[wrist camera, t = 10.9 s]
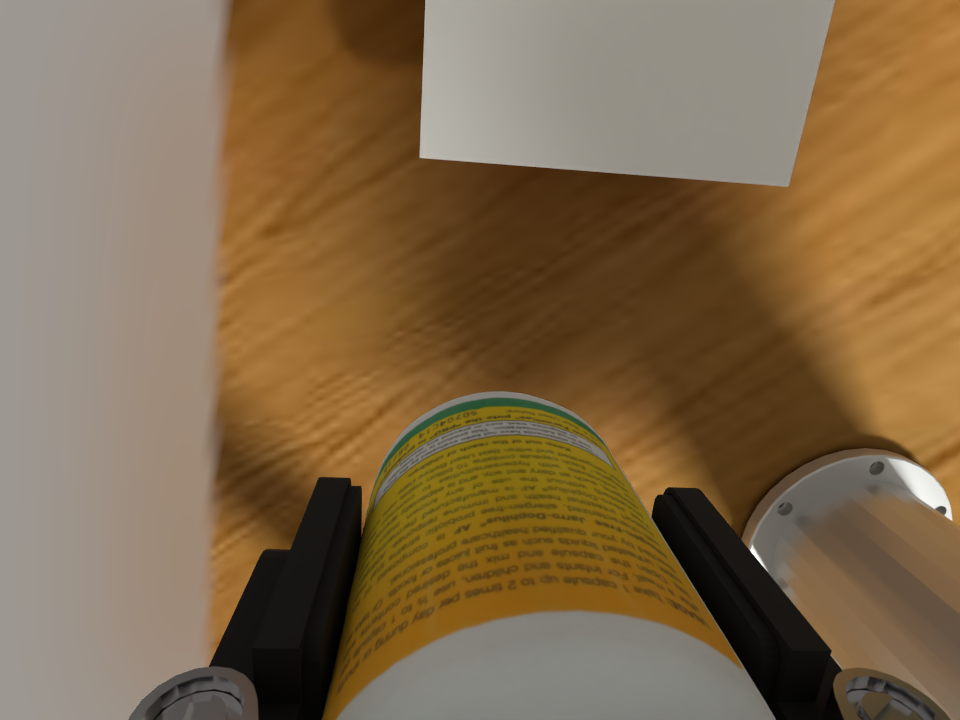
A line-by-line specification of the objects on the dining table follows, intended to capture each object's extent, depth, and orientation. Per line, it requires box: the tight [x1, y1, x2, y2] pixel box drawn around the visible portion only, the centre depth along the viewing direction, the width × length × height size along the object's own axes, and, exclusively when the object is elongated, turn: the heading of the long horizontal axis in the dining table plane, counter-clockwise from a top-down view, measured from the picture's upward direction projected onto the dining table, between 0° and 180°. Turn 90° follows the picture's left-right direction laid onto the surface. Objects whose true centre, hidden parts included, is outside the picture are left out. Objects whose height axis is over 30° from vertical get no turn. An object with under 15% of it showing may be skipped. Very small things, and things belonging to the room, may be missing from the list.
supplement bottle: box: [321, 391, 776, 720], centre depth 8 cm, size 5×5×10 cm
